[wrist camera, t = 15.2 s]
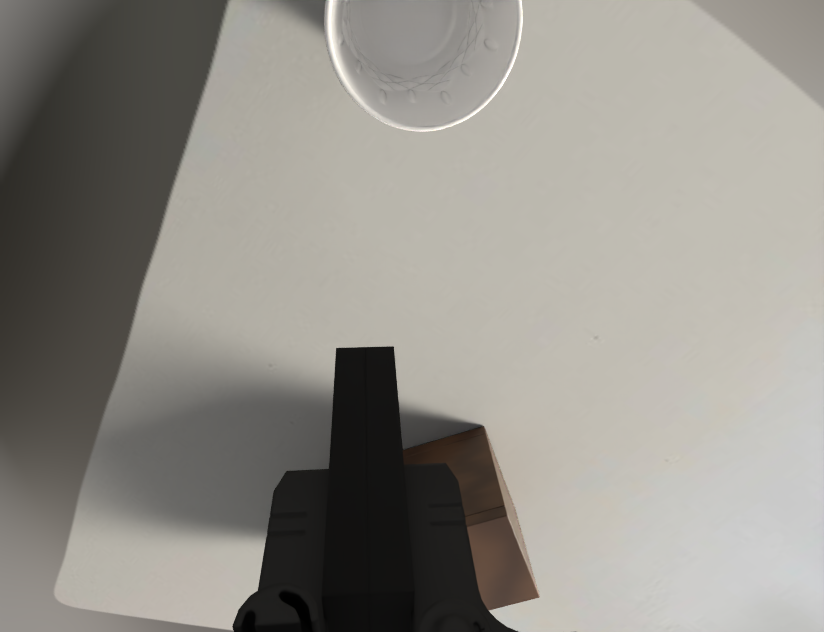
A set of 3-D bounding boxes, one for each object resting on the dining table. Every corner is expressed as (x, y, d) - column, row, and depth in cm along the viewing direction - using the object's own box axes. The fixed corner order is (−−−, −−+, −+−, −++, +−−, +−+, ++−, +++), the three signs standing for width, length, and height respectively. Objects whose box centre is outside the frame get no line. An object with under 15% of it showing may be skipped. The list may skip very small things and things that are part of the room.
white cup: (397, -121, 27) (415, -155, 18) (506, 0, 30) (563, 18, 22) (304, 17, 30) (283, 42, 21) (413, 114, 33) (431, 168, 25)
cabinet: (379, 545, 57) (382, 637, 49) (330, 471, 50) (325, 565, 42) (514, 508, 55) (540, 597, 48) (483, 425, 48) (507, 515, 41)
